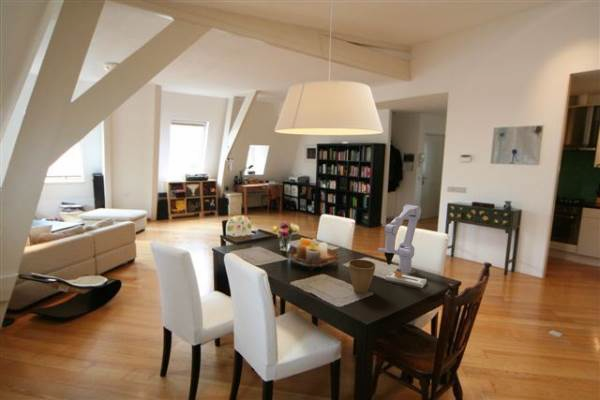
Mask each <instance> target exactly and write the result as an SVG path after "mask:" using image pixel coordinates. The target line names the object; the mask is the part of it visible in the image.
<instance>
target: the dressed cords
mask: <svg viewBox="0 0 600 400" xmlns="http://www.w3.org/2000/svg"><path fill="white" fill-rule="evenodd" d="M393 272H394V273H395V271H393ZM403 275H407V276H412V277H416V278H421V279H425V280H426V282H427V280H428V279H427V278H423V277H421V276H417V275H416V276H415V275H411V274H408V273H403ZM384 281H385V282H387V283H391V284H396V285H400V286H405V287H408V288H412V289H417V290H421V289H422V288H421V287H418V286H414V285H410V284H405V283H401V282H397V281H393V280H388V279H386V278H385V279H384Z"/></svg>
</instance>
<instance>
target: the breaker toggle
mask: <svg viewBox="0 0 600 400" xmlns="http://www.w3.org/2000/svg"><path fill="white" fill-rule="evenodd" d="M394 272H395V276H398V277H402V276H403V274H404V272H403V271H401V269H399V267H397V268H396V269H395V270H394Z"/></svg>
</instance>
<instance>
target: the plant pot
mask: <svg viewBox="0 0 600 400" xmlns="http://www.w3.org/2000/svg"><path fill="white" fill-rule="evenodd" d="M348 269H349V276H350V282H351V285H352V288H353V291H354V292H356V293H359V294H366V293H367V292H368V290H369V288H370V285H372V280H373V277H374V274H375V270H376V263H375V262H373V261H370V260H367V259H351V260H349V262H348Z"/></svg>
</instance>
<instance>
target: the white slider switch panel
mask: <svg viewBox="0 0 600 400" xmlns="http://www.w3.org/2000/svg"><path fill="white" fill-rule="evenodd" d="M394 272H395V271H390V272H389V273H388V274H386V275H385V279H388V280H393V281H397V282H401V283H405V284H410V285H414V286H418V287H421V289H423V288H424V286H425V285H426V284H427V281H426V280H425V279H426V278H425V279H421V278H422V277H421V278H416V277H417V276H416V277H412V276H413V275H411V276H407V275H408V274H407V275H403V276H402V277H398V276H395V273H394Z"/></svg>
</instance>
